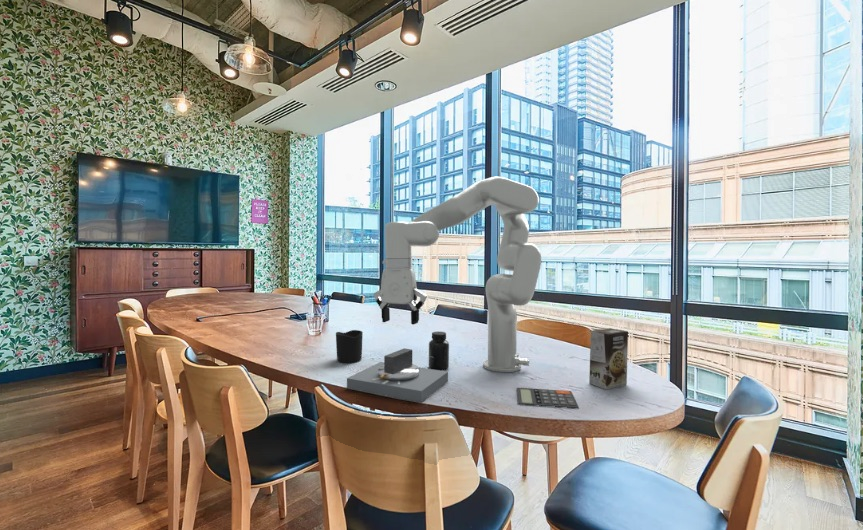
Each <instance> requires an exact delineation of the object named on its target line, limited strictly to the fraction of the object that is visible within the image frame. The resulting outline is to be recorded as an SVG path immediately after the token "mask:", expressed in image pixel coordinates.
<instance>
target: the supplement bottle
mask: <svg viewBox="0 0 863 530" xmlns="http://www.w3.org/2000/svg"><path fill="white" fill-rule="evenodd" d="M446 339H447V332H445V331H433V332H431V340H430V341H429V342H428V369H433V370H440V371H446V370H448V369H449V365H450V342H449V341H448V340H446Z"/></svg>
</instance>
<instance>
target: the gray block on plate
mask: <svg viewBox="0 0 863 530" xmlns="http://www.w3.org/2000/svg"><path fill="white" fill-rule="evenodd" d="M383 360H384V365H383V366H381V367H380V368H379V369H378V376H379V377H380V378H382V379H386V380H393V381H401V380H409V379H413V378H415V377H417V376H418V375H419V368H420V367H419V366H418V365H417V364H413V349H411V348H410V349H409V348H401V349H399V350H395V351H394V352H390V353H388V354H386V355H384V357H383Z"/></svg>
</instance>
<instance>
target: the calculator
mask: <svg viewBox="0 0 863 530" xmlns="http://www.w3.org/2000/svg"><path fill="white" fill-rule="evenodd" d="M516 397H517V405H519V404H525V405H524V406H531V405H539V406H538V407H546V406H555V407H554V408H561V407H567V408H566V409H575V408H578V409H579V407H580V406H579V405H578V402H577V400H576V397H575V396H574V394H573V392H572V390H564V389H563V390H562V389H561V390H559V389H549V388H547V389H546V388H545V389H543V388H530V387H516Z"/></svg>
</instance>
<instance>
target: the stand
mask: <svg viewBox="0 0 863 530" xmlns="http://www.w3.org/2000/svg"><path fill="white" fill-rule="evenodd" d="M383 365H384V362H383V361H380V362H378V363H376V364H373V365H371V366H369V367H367V368H365V369H362V370H361V371H359V372H357V373H355V374H353V375H351V376H348V377H346V389H348V390H353V391H357V392H358V391H359V392H365V393H370V394H374V393H376V394H375V395H379V394H381V396H385V395H387V396H386V397H390V396H391V398H396V397H397V398H396V399H401V400H406V399H407V400H408V401H412V400H413V402H418V403H423V402H424V401H425V400H426V399H427V398H429V397H430V396H432V395H433V394H434V393H436V390H437V391H438V390H439V389H440V388H442V387H443V386H445V385H446V384H447V383H448V382H449V371H446V370H443V371H440V370H433V369H430V368H425V367H419V375H418V376H417V377H415V378H413V379H409V380H401V381H393V380H386V379H382V378H380V377H379V376H378V369H379V368H380V367H381V366H383Z"/></svg>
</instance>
